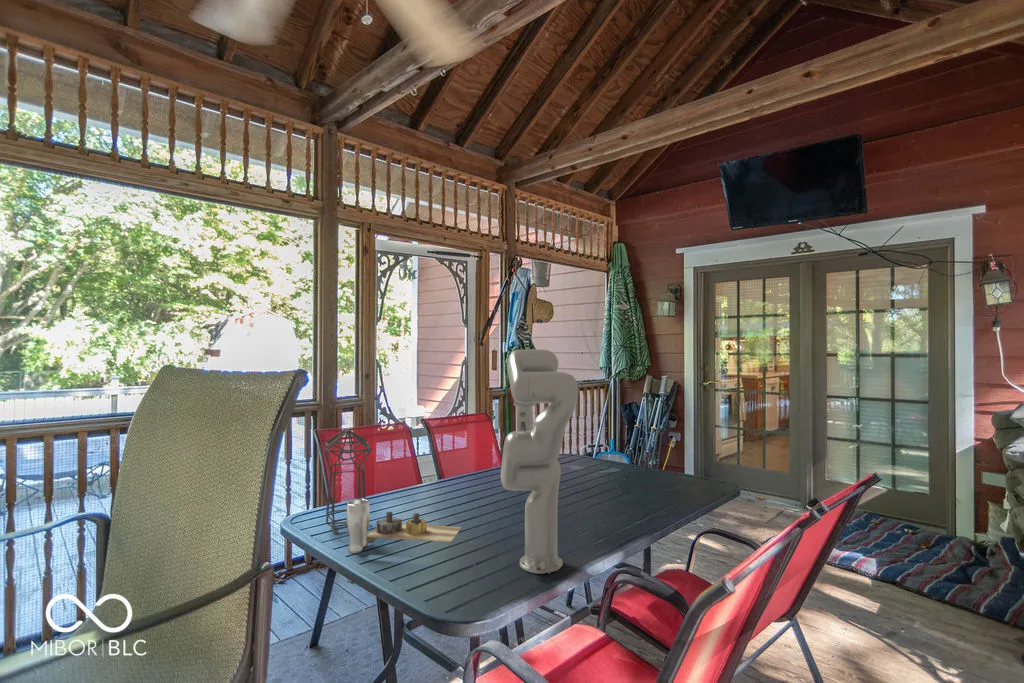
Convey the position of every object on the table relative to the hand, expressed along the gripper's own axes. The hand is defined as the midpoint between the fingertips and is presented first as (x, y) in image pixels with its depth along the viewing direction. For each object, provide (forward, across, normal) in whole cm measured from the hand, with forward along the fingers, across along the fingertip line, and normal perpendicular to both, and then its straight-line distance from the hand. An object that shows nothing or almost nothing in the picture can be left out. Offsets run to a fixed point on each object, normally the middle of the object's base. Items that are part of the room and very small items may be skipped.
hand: (524, 450), depth 181 cm
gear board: (+28, -11, +36) cm, 47 cm away
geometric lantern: (+28, -8, +61) cm, 68 cm away
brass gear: (+26, -11, +36) cm, 46 cm away
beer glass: (+28, -25, +50) cm, 62 cm away
